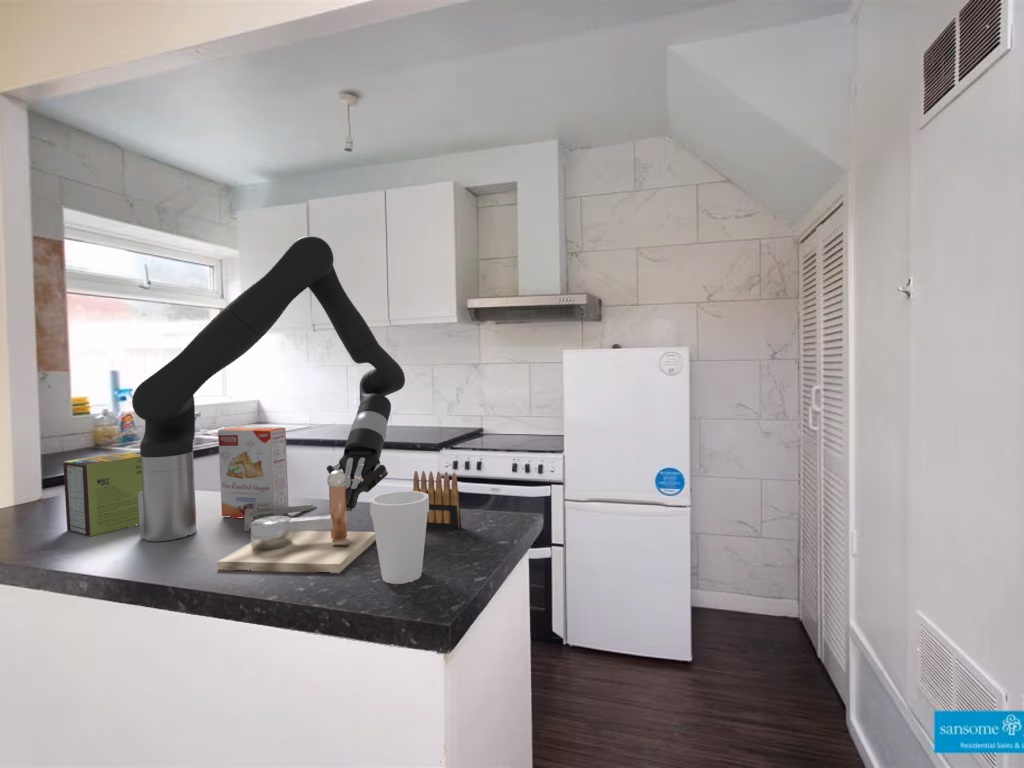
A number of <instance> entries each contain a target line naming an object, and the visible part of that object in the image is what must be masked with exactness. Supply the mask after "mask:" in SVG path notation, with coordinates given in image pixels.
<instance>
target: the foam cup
mask: <svg viewBox="0 0 1024 768" xmlns="http://www.w3.org/2000/svg"><path fill="white" fill-rule="evenodd" d="M369 504H370V505H369V507H370V508H369V510H370V512H369V513H370V517H371V519H372V524H373V526H372V527H373V532H375V538H376V540H375V543H376V549H377V554H378V561H379V566H380V572H381V573H380V574H381V577H382V580H383V581H384V582H385V583H388V584H392V585H402V584H407V583H408V582H409V583H412V582H414V580H415V581H417V580H418V579H420V578H421V577H422V573H423V563H424V555H425V553H424V552H425V542H426V533H427V528H426V525H427V515H428V512H429V497H428V494H426V493H424V492H419V491H413V490H396V491H388V492H385V493H384V492H383V493H380V494H376V495H374V496H372V497H371V498H370V500H369Z"/></svg>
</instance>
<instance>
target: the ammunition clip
mask: <svg viewBox="0 0 1024 768" xmlns="http://www.w3.org/2000/svg"><path fill="white" fill-rule="evenodd" d="M421 472H422V473H421V475H420V477H419V473H418V471H417V470H415V471H414V475H413V486H412V491H419V492H424V493H426V494H428V497H429V512H428V515H427V525H426V529H437V530H439V529H440V530H451V531H458V530H459V529H461V528H462V520H461V518H462V517H461V507H460V498H459V497H460V495H459V488H458V479H457V474H456V472H455V471H454V472H453V473H452V476H451V486H450V479H449V478H450V477H449V474H448V472H447V471H445V473H444V477H443V485H442V476H441V472H440V471H437V473H436V476H435V477H436V478H435V477H434V474H433V472H432V470H430V471H429V474H428V481H427V476H426V472H425V470H423V471H421ZM434 479H435V480H434ZM427 482H428V483H427Z"/></svg>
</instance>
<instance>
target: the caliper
mask: <svg viewBox="0 0 1024 768" xmlns="http://www.w3.org/2000/svg"><path fill="white" fill-rule="evenodd" d="M315 507H317V505H314V504H313V503H312V504H310V503H308V504H299V505H297V504H295V505H288V506H286V507H276V508H275V506H265V507H257V503H249V507H248V508H247V509H246V512H245V517H244V532H246V531H250V532H251V526H250V524H251V522H253V521H255V520H258V519H261V518H265V517H271V516H274V515H276V514H284V513H288V514H291V513H292V514H293V513H299V512H300V513H301V512H308V511H307V510H309V511H311V510H310V509H312V510H313V509H316V508H315ZM253 517H254V518H253ZM252 518H253V519H252Z"/></svg>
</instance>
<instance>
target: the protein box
mask: <svg viewBox="0 0 1024 768" xmlns="http://www.w3.org/2000/svg"><path fill="white" fill-rule="evenodd" d="M62 464H63V466H62V467H63V480H64V482H63V483H64V497H65V498H64V499H65V500H64V501H65V515H66V516H65V517H66V519H65V520H66V531H68V532H71V533H76V534H79V535H84V536H87V537H94V536H97V535H101V534H106V533H110V532H114V531H117V530H121V528H122V529H125V527H126V528H129V526H130V527H133V525H134V526H137V525H136V524H138V525H139V507H138V493H139V492H142V474H141V471H142V470H141V455H140V450H137V449H136V450H132V451H125V452H119V453H109V454H104V455H97V456H91V457H85V458H83V457H82V458H77V459H70V460H65V461H63V462H62Z"/></svg>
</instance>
